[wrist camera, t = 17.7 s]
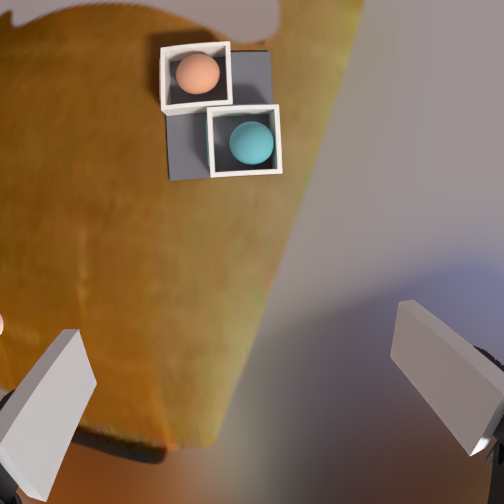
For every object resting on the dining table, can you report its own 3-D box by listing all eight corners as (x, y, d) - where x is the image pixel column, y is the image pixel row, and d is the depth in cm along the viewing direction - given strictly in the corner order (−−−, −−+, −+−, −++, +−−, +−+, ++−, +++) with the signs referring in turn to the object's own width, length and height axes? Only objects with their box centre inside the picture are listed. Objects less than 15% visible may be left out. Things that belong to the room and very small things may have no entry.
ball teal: (221, 125, 35) (240, 117, 30) (259, 125, 37) (281, 119, 33) (224, 166, 36) (242, 164, 32) (261, 164, 38) (283, 163, 34)
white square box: (165, 58, 33) (158, 46, 29) (228, 52, 34) (229, 40, 29) (166, 116, 35) (159, 110, 31) (231, 111, 36) (232, 103, 31)
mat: (165, 59, 33) (165, 57, 33) (269, 52, 34) (269, 51, 34) (170, 180, 37) (169, 181, 37) (276, 173, 38) (276, 173, 38)
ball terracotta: (179, 67, 34) (173, 48, 29) (219, 63, 34) (218, 44, 29) (179, 102, 34) (172, 86, 29) (221, 98, 34) (220, 82, 29)
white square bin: (206, 112, 35) (205, 105, 31) (272, 109, 36) (278, 102, 32) (210, 176, 38) (208, 177, 33) (275, 172, 38) (282, 173, 34)
